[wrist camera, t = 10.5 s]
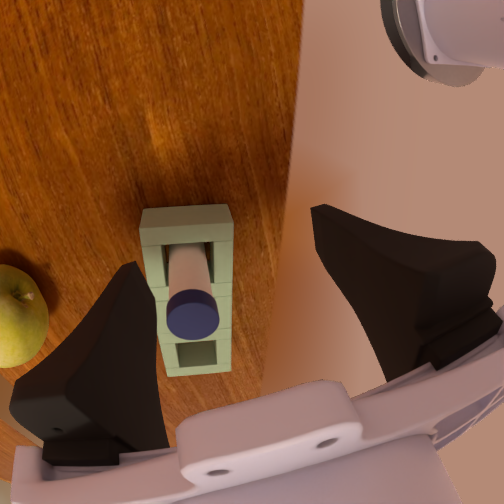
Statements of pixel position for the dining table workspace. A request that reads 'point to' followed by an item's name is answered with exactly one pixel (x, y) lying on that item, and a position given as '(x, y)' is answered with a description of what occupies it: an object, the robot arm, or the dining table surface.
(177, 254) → the test tube
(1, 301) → the apple
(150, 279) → the tube rack
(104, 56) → the dining table surface
